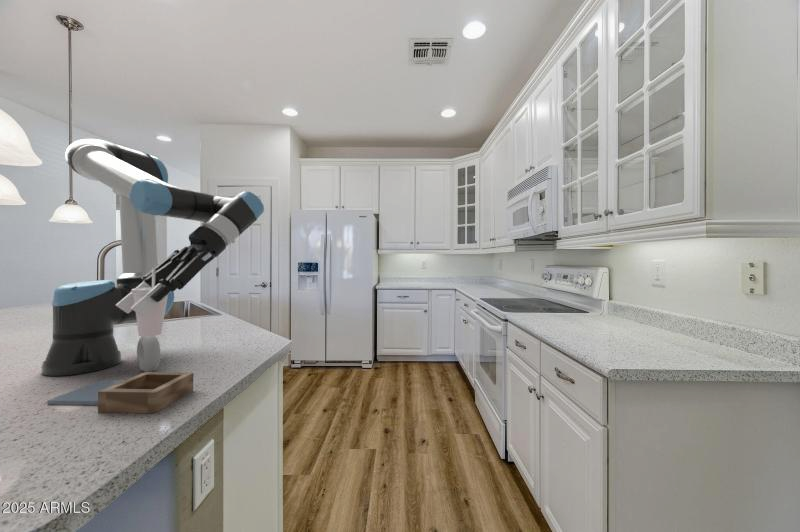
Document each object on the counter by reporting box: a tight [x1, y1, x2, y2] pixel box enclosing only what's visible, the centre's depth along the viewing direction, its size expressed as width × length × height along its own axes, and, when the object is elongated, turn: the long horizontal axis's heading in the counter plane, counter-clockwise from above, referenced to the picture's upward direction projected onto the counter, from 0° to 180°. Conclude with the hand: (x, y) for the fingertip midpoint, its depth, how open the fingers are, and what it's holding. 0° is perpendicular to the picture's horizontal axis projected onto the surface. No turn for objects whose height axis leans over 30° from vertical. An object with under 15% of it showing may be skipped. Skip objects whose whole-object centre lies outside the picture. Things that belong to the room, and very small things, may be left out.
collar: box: [97, 371, 194, 414], centre depth 65 cm, size 11×11×4 cm
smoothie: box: [131, 268, 168, 338], centre depth 65 cm, size 6×6×14 cm
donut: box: [136, 335, 162, 373], centre depth 82 cm, size 10×4×10 cm, turn 53°
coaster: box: [46, 379, 123, 406], centre depth 68 cm, size 11×11×1 cm
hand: (129, 310), depth 62 cm, fingers closed on smoothie, 6 cm apart
